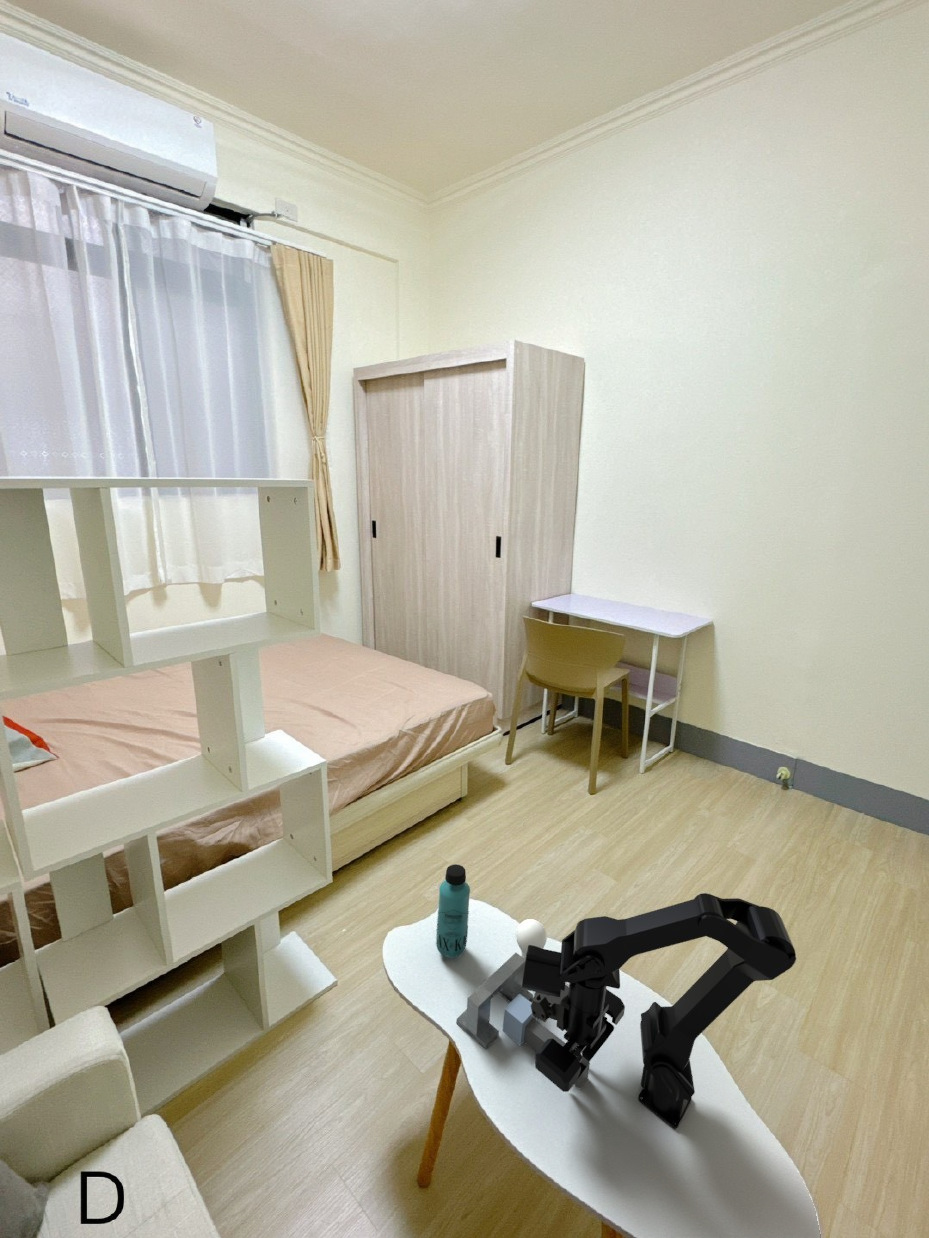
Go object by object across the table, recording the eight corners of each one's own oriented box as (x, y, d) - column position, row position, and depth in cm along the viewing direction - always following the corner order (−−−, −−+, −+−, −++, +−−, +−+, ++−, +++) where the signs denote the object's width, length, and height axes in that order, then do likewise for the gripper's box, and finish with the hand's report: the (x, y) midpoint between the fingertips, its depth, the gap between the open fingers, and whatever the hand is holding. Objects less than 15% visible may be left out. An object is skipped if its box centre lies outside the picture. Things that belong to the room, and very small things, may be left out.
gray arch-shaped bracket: (532, 998, 110) (535, 966, 109) (485, 1049, 100) (488, 1014, 98) (504, 976, 115) (506, 945, 113) (456, 1023, 105) (458, 989, 103)
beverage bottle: (432, 942, 122) (435, 861, 117) (461, 936, 124) (466, 856, 119) (439, 967, 116) (443, 883, 111) (471, 960, 118) (476, 877, 113)
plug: (590, 1074, 97) (593, 1050, 96) (577, 1093, 94) (580, 1069, 93) (513, 1011, 108) (515, 989, 106) (498, 1027, 104) (500, 1005, 103)
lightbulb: (533, 987, 113) (538, 940, 110) (507, 970, 116) (511, 924, 114) (548, 967, 118) (553, 922, 115) (523, 951, 121) (527, 907, 118)
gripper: (574, 936, 104) (566, 1006, 108) (510, 1002, 91) (504, 1078, 95) (631, 973, 97) (620, 1046, 101) (571, 1050, 83) (561, 1131, 87)
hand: (576, 1072), depth 96 cm, fingers open, 5 cm apart
